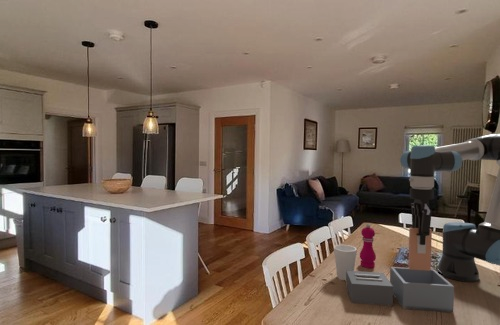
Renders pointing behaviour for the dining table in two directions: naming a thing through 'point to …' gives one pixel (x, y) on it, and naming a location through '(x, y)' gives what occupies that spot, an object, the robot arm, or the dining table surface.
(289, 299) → the dining table surface
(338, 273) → the foam cup
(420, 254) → the terracotta flat slab
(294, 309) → the dining table surface
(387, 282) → the dispenser
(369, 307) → the dining table surface
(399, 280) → the bin
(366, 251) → the pepper mill
